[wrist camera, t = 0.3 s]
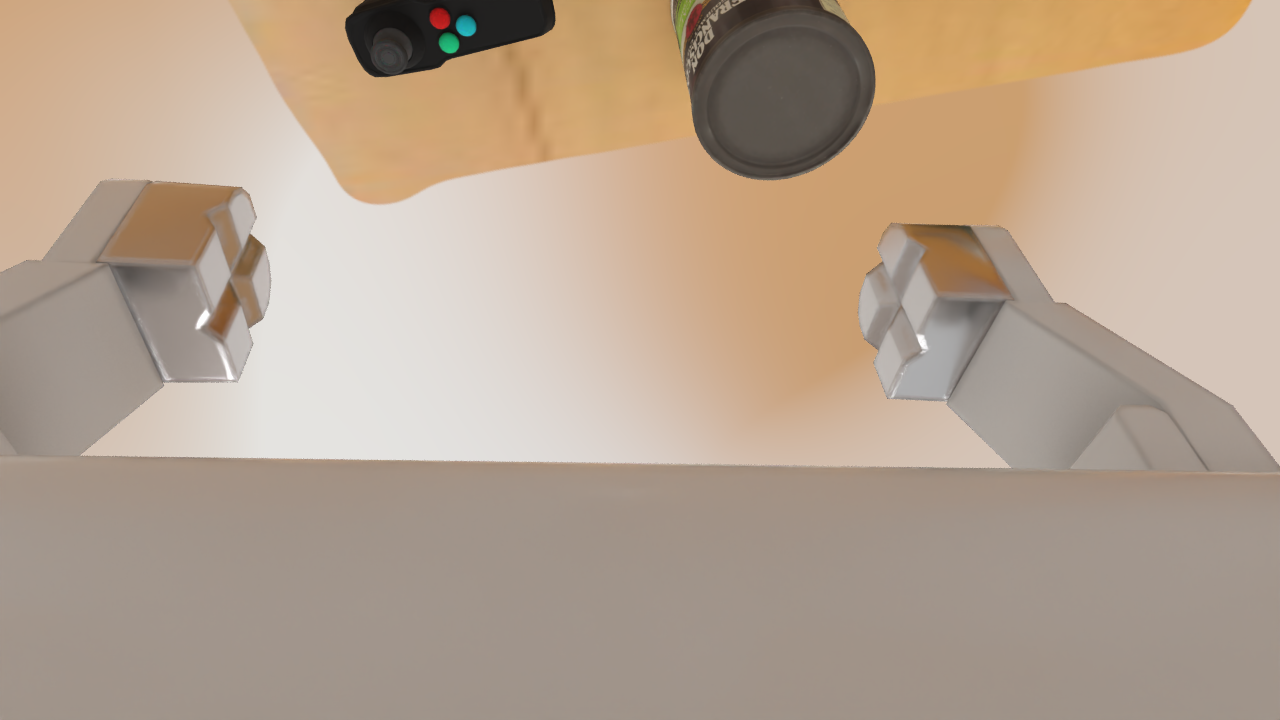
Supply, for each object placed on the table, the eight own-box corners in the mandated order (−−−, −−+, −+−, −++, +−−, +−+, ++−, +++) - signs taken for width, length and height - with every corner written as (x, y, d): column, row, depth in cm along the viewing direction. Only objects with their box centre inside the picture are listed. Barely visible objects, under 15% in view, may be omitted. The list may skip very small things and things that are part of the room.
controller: (357, -34, 51) (325, 32, 44) (543, -78, 50) (540, -17, 43) (385, 31, 54) (359, 102, 47) (561, -9, 53) (561, 58, 46)
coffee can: (644, 41, 56) (661, 147, 46) (714, -109, 50) (751, -24, 40) (769, 94, 60) (809, 203, 50) (850, -39, 53) (914, 55, 43)
